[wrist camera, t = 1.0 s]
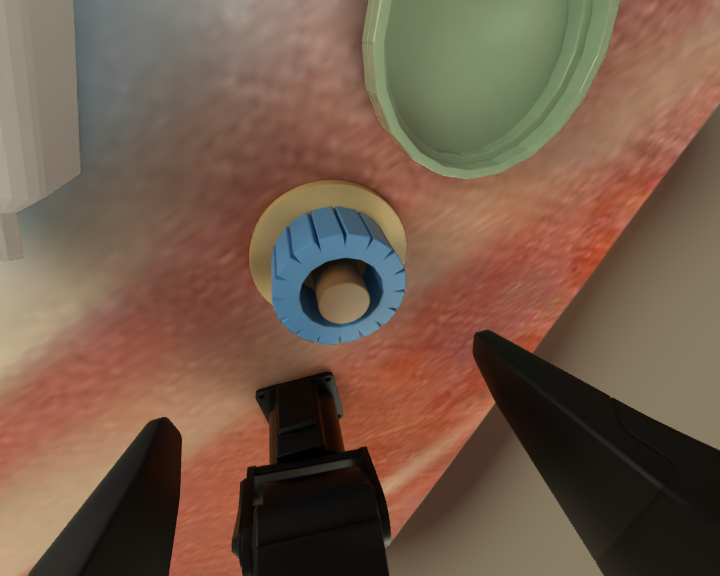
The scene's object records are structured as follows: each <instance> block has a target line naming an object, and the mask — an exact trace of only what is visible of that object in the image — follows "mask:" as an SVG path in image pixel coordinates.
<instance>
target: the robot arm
mask: <svg viewBox="0 0 720 576" xmlns="http://www.w3.org/2000/svg"><path fill="white" fill-rule="evenodd" d="M473 357H474V359H475V361H476V363H477V365H478V367H479V370H480V372H481V374H482V376H483V378H484V380H485V382H486V384H487V386H488V388H489V390H490V392H491V394H492V396H493V398H494V400H495V402H496V404H497V405H498V407H499V409H500V411H501V412H502V414H503V415H504V417H505V419H506V420H507V422H508V423H509V425H510V427H511V428H512V430H513V431H514V433H515V434H516V436H517V438H518V439H519V441H520V442H521V444H522V445H523V447H524V449H525V450H526V452H527V453H528V455H529V457H530V458H531V460H532V461H533V463H534V465H535V466H536V468H537V470H538V471H539V473H540V474H541V476H542V477H543V479H544V481H545V482H546V484H547V485H548V487H549V489H550V490H551V492H552V493H553V495H554V497H555V498H556V500H557V501H558V503H559V505H560V506H561V508H562V509H563V511H564V513H565V514H566V516H567V517H568V519H569V521H570V522H571V524H572V525H573V527H574V528H575V530H576V532H577V533H578V535H579V536H580V538H581V539H582V541H583V543H584V544H585V546H586V548H587V549H588V551H589V552H590V554H591V556H592V557H593V559H594V560H595V561H596V564H597V565H598V567H599V568H600V570H601V572H602V573H603V575H604V576H720V450H718V449H716V448H713V447H711V446H709V445H707V444H705V443H703V442H701V441H698V440H696V439H694V438H692V437H690V436H688V435H685V434H683V433H681V432H679V431H677V430H675V429H673V428H671V427H669V426H667V425H665V424H663V423H660V422H658V421H656V420H654V419H652V418H650V417H648V416H646V415H645V414H642V413H641V412H638V411H637V410H635V409H633V408H631V407H629V406H627V405H625V404H624V403H622V402H620V401H618V400H616V399H615V398H610V396H609V395H607V394H605V393H603V392H602V391H600V390H598V389H596V388H594V387H592V386H590V385H589V384H587V383H585V382H583V381H582V380H580V379H578V378H576V377H574V376H572V375H571V374H569V373H567V372H565V371H563V370H562V369H560V368H558V367H556V366H554V365H552V364H551V363H549V362H547V361H545V360H543V359H541V358H540V357H538V356H536V355H534V354H532V353H530V352H529V351H527V350H525V349H523V348H521V347H520V346H518V345H516V344H514V343H512V342H510V341H509V340H507V339H505V338H503V337H501V336H499V335H498V334H496V333H494V332H492V331H490V330H483V331H480V332H476V333H475V335H474V341H473ZM256 400H257V402H258V403H259V405H260V407H261V409H262V411H263V413H264V415H265V417H266V419H267V421H268V423H269V452H270V465H265V466H259V467H256V466H251V467H248V469H247V478H246V479H244V480H243V481H242V482H240V497H239V508H238V514H237V519H236V523H235V528H234V533H233V538H232V552H233V553H234V554H235V555H236V556H237V557H238V558H239V561H240V567H242V574H243V576H389V571H388V564H387V558H386V550H385V547H387V546H389V545H390V541H391V529H390V520H389V514H388V509H387V504H386V500H385V496H384V493H383V490H382V487H381V484H380V482H379V479H378V476H377V474H376V471H375V468H374V466H373V463H372V460H371V457H370V455H369V452H368V449H367V447H366V446H365V447H360V448H359V449H356V450H350V451H345V450H344V444H343V439H342V434H341V429H340V424H339V419H341V418H342V417H343V410H342V407H341V403H340V399H339V395H338V391H337V388H336V384H335V380H334V376H333V373H331V372H324V373H320V374H317V375H313V376H309V377H305V378H301V379H297V380H293V381H290V382H286V383H282V384H278V385H274V386H270V387H267V388H263V389H259V390H258V391H256ZM181 452H182V437H181V434H180V432H179V431H178V429H177V428H176V427H175V426H174V425H173V423H172V422H171V421H170V420H169V419H168V418H166V417H162V418H158V419H154V420H151V421H150V422H148V423H147V424H146V426H145V427H144V428H143V429H142V431H141V432H140V433H139V434H138V436H137V437H136V438H135V440H134V441H133V442H132V443H131V445H130V446H129V447H128V448H127V450H126V451H125V452H124V453H123V455H122V456H121V457H120V459H119V460H118V461H117V462H116V464H115V465H114V466H113V467H112V469H111V470H110V471H109V472H108V474H107V475H106V476H105V477H104V479H103V480H102V481H101V483H100V484H99V485H98V486H97V488H96V489H95V490H94V491H93V493H92V494H91V495H90V496H89V498H88V499H87V500H86V502H85V503H84V504H83V505H82V507H81V508H80V509H79V510H78V512H77V513H76V514H75V515H74V517H73V518H72V519H71V521H70V522H69V523H68V524H67V526H66V527H65V528H64V529H63V531H62V532H61V533H60V534H59V536H58V537H57V538H56V540H55V541H54V542H53V543H52V545H51V546H50V547H49V548H48V550H47V551H46V552H45V553H44V555H43V556H42V557H41V558H40V560H39V561H38V562H37V564H36V565H35V566H34V567H33V569H32V570H31V571H30V572H29V575H28V576H169V569H170V562H171V556H172V549H173V542H174V535H175V528H176V521H177V514H178V507H179V499H180V482H181Z"/></svg>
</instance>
